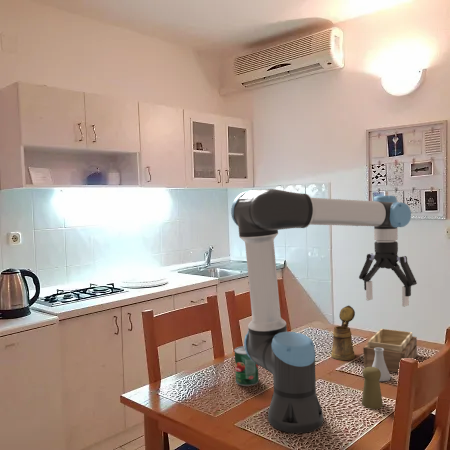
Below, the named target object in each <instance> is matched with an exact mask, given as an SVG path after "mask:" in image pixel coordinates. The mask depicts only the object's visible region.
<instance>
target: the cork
mask: <svg viewBox="0 0 450 450" xmlns="http://www.w3.org/2000/svg"><path fill="white" fill-rule="evenodd" d="M362 376H363V377H362V378H363V379H364V380H363V381H364V382H363V389H362V390H363V391H362V397H361V398H362V399H361V405H362V406H363V407H364V408H366V409H369V410H380V409H382V408H383V407H384V403H383V397H382V391H381V390H382V389H381V385H380V382H381V381H379V379H380V377H381V372H380V370H379V369H378V368H376V367H364V368H363V370H362Z"/></svg>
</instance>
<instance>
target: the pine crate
mask: <svg viewBox="0 0 450 450" xmlns="http://www.w3.org/2000/svg"><path fill="white" fill-rule="evenodd" d="M412 336H413V332H412V331H406V330H396V329H387V328H380V329H379V330H378V331H377V332H376V333H375V334H373V336H372V337H371V338H369V340H367V344H368V348H383V349H384V350H389V351H396V352H403V351H404V349H405V348H406V347H407V345H408V344H409V343H410V341H411V340H412Z"/></svg>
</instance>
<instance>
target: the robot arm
mask: <svg viewBox="0 0 450 450" xmlns="http://www.w3.org/2000/svg"><path fill="white" fill-rule="evenodd" d="M230 215H231V218H232V220H233V222H234V224H235V225H236V226H237V228H238V235H239V238H240V239H241V240H242V241H243V242H244V244H245V258H246V265H247V275H248V276H247V277H248V286H249V297H250V309H251V320H250V322H248V325H247V329H248V330H247V333H246V334H245V336H244V341H243V346H244V348H245V351H246V353H247V355H248V357H249V358H250V359H251V360H252V361H253V362H254V363H256V364H257V365H258V367H261V368H263V369H265V370H266V371H268V372H269V373H270V374H272V377H273V379H272V380H273V394H272V397H271V402H270V404H269V408H268V411H267V415H268V416H267V419H268V423H269V424H270V425H271V426H272V427H273V428H275V429H277V430H279V431H281V432H286V433H289V434H290V433H292V434H304V433H311V432H314V431H317V430H318V429H319V428H321V427H322V426H323V423H324V412H323V409H322V406H321V404H320V401H319V399H318V398H319V397H318V395H317V388H316V387H317V386H316V385H317V384H316V382H317V381H316V355H317V354H316V351H315V349H316V348H315V343H314V341H313V339H312V338H310V336H307V335H306V334H303V333H301V332H296V331H288V327H287V322H286V320H285V319H283V318H282V317H281V309H280V307H281V305H280V296H279V284H278V274H277V263H276V252H275V238H276V237H277V236H278V235H279V231H280V230H288V229H305V228H308V227H309V226H310V225H312V226H314V225H315V226H344V227H345V226H348V227H349V226H350V227H353V226H355V227H373V228H374V229H373V233H374V237H373V238H374V253H375V254H374V253H367V254H366V258H365V262H364V264H363V267H362V270H361V271H360V273H359V276H358V278H359V280H362V281H363V283H364V284H363V286H364V287H363V288H364V291H365V292H366V293H365V296H366V298H365V300H366V301H371V300H373V280H372V278H373V277H374V276H375V275H376V273H377V272H378V271H379V269H386V270H387V269H388V270H390V269H391V271H392V272H394V274H395V275H396V276H397V277H398V279H399V281H400V282H401V283H402V284H403V286H401V294H402V295H401V298H402V300H401V301H402V304H401V306H402V307H407V306H409V303H410V301H409V299H410V297H411V295H412V286H415V285H417V284H418V282H417V280H416V278H415V275H414V273H413V270H412V269H411V268H410V264H409V262H408V256H406V255H404V256H403V255H402V256H399V253H398V252H399V243H398V238H399V235H398V234H399V233H398V228H405V227H406V226H407V225H408V224H409V223H410V221H411V219H412V210H411V208H410V206H409V205H408V204H407V203H405V202H401V201H398V199H397V196H396V195H375V196H374V197H373V200H359V199H357V200H356V199H341V198H340V199H339V198H338V199H337V198H324V197H311V196H310V195H309V194H307V193H301V192H300V193H299V192H292V191H286V190H281V189H275V188H268V189H266V188H265V189H251V190H250V189H249V190H246V191H243V192H241V193H239V194H238V195H237V196H236V197H235V199H234V200H233V201H232V204H231V210H230ZM374 261H375V263H374ZM398 262H399V263H400V265H399V263H398ZM373 263H374V264H373ZM372 265H373V267H372ZM371 267H372V268H371Z"/></svg>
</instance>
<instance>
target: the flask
mask: <svg viewBox="0 0 450 450" xmlns="http://www.w3.org/2000/svg"><path fill="white" fill-rule="evenodd" d="M374 351H375V358H374V362H373V365H372V367H376V368H378V369H379V370H380V372H381V377H380V379H379V382H389V381H390V379H391V373H390V371H388V369H387V366H386V364H385V361H384V356H383V351H384V349H383V348H374Z"/></svg>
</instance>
